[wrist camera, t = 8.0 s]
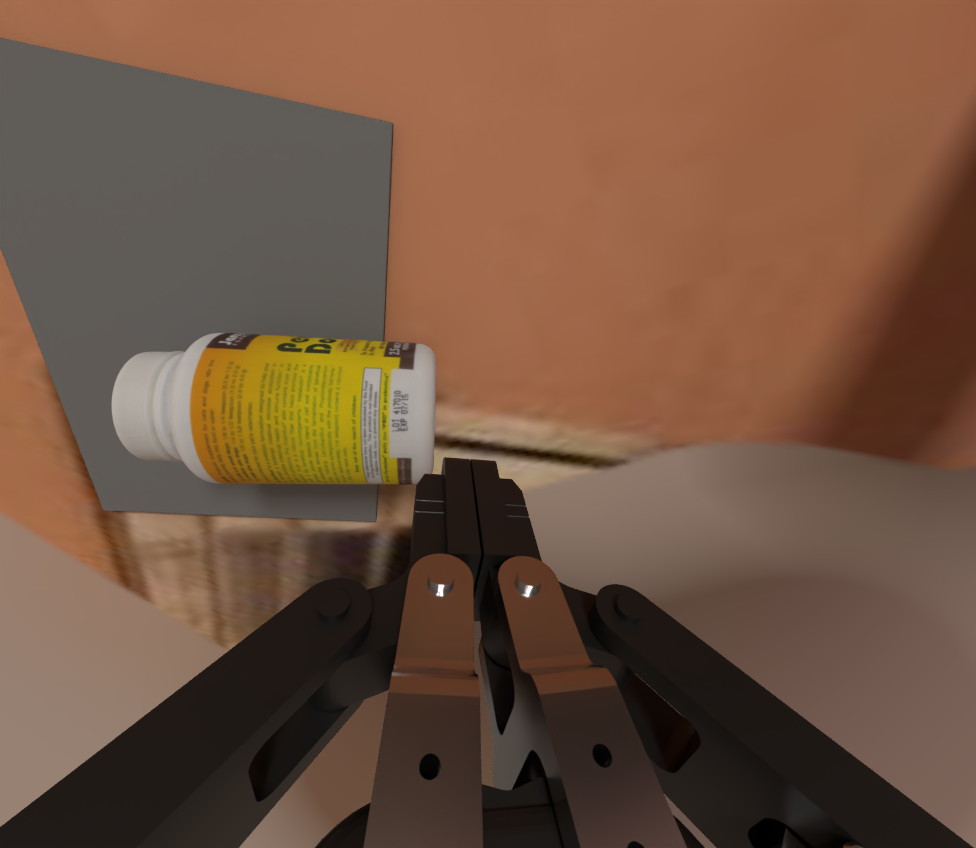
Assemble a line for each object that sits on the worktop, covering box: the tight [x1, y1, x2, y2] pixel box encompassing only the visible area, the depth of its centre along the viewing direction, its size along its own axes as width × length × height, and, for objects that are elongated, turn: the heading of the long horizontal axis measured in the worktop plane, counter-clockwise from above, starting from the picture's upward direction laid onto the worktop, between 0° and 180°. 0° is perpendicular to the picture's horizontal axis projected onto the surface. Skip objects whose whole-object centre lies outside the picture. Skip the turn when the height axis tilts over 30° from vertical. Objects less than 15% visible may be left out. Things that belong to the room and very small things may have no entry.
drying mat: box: [0, 38, 393, 522], centre depth 17 cm, size 13×18×1 cm
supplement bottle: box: [112, 333, 436, 484], centre depth 15 cm, size 6×6×10 cm
